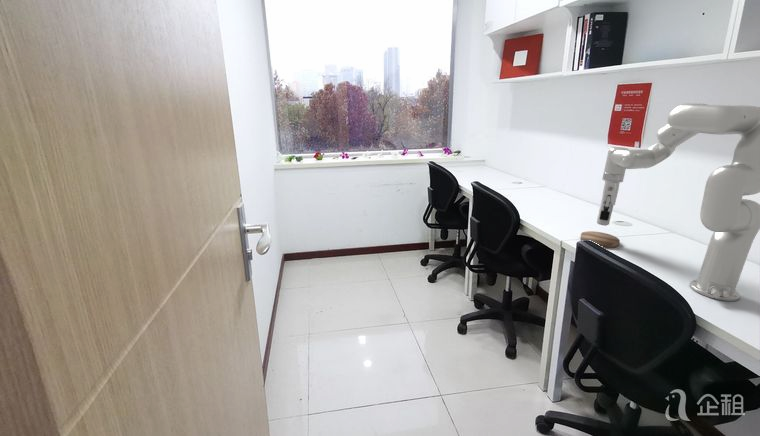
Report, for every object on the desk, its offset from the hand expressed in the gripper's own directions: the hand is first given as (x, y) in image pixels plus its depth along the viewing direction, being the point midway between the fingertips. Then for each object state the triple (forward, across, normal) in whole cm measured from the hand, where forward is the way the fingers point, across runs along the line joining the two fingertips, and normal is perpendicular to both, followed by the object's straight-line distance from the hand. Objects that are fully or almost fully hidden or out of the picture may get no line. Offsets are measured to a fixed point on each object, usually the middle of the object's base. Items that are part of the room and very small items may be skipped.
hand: (604, 217), depth 162 cm
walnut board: (+11, 0, 0) cm, 11 cm away
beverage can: (+3, 0, 0) cm, 3 cm away
